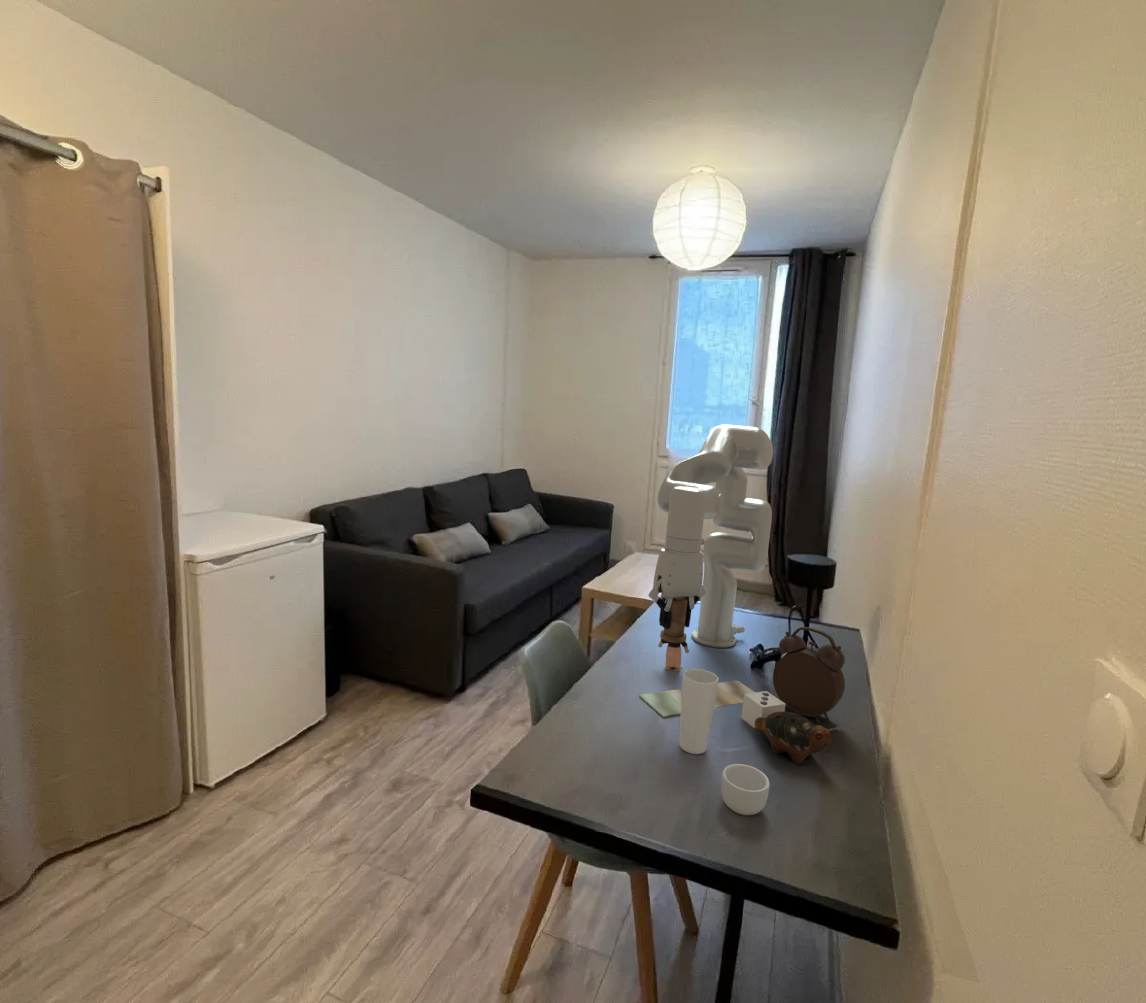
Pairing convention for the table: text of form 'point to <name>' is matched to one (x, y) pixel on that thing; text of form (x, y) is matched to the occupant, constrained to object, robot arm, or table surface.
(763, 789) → the teacup
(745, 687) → the track board
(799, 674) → the alarm clock
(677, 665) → the grandmother figurine
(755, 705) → the die
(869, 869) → the table surface
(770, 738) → the decorative turtle
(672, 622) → the pawn
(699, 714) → the drinking glass
